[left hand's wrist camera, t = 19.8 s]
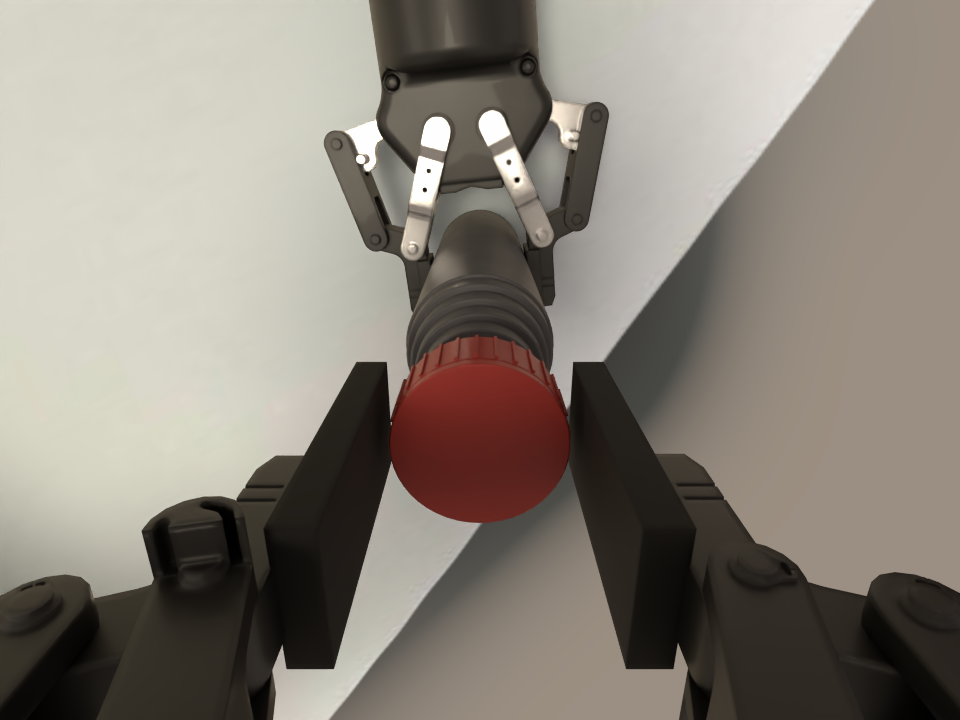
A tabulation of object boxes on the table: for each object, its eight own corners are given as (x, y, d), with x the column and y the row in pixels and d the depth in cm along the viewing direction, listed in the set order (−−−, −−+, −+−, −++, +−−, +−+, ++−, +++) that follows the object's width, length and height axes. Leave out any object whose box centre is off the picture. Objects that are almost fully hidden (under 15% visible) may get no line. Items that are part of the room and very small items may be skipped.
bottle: (506, 296, 37) (548, 542, 14) (432, 277, 37) (355, 499, 14) (528, 222, 35) (616, 366, 13) (451, 200, 35) (397, 311, 12)
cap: (432, 306, 14) (425, 332, 12) (590, 370, 14) (606, 403, 12) (375, 449, 15) (361, 490, 13) (521, 501, 16) (526, 547, 14)
